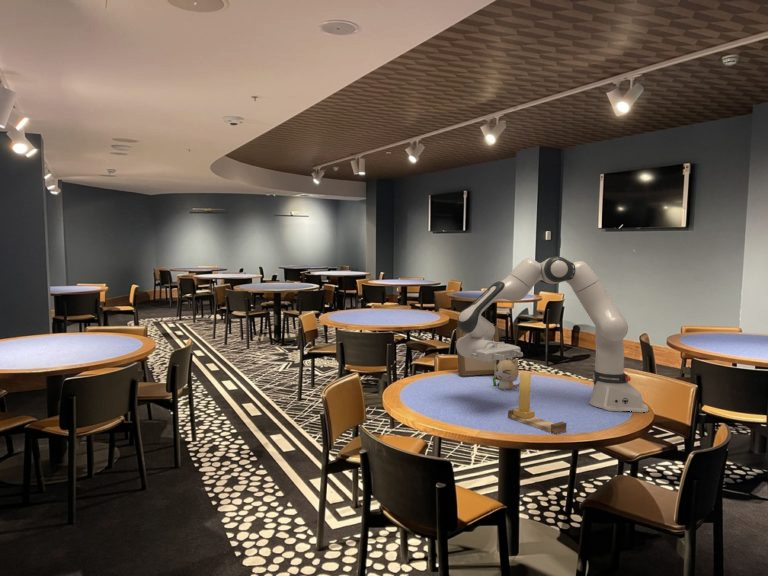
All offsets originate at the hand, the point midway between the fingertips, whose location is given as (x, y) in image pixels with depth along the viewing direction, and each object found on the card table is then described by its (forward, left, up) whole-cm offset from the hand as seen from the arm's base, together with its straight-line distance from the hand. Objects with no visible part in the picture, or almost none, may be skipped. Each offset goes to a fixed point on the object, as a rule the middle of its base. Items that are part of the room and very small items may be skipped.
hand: (513, 356), depth 208 cm
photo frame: (+23, -68, -24) cm, 75 cm away
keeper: (-5, +5, -22) cm, 23 cm away
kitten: (+6, -41, -24) cm, 47 cm away
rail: (-9, +8, -23) cm, 26 cm away
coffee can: (+8, -59, -23) cm, 64 cm away
